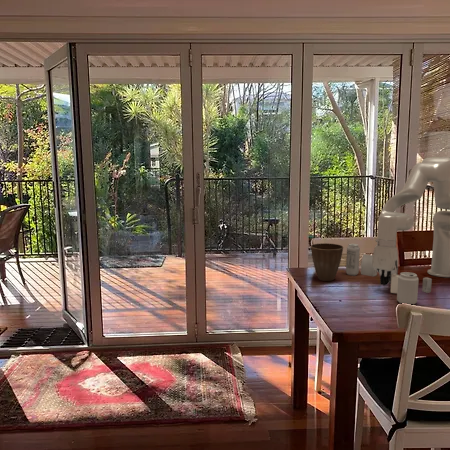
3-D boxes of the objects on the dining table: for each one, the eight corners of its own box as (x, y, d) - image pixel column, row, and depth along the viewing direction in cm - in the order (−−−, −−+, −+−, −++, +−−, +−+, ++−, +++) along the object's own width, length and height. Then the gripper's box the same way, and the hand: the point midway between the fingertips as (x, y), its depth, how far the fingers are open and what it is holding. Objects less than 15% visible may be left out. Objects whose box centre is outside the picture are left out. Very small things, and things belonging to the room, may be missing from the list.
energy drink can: (361, 274, 212) (362, 245, 210) (352, 276, 209) (353, 246, 207) (352, 272, 218) (353, 243, 215) (343, 273, 215) (344, 244, 212)
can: (418, 306, 168) (421, 276, 166) (398, 305, 170) (400, 275, 168) (414, 300, 175) (416, 271, 173) (395, 299, 177) (396, 270, 175)
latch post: (426, 290, 187) (427, 277, 186) (430, 292, 185) (431, 278, 184) (422, 291, 186) (423, 278, 185) (426, 292, 184) (427, 279, 183)
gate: (397, 282, 199) (398, 266, 198) (398, 293, 183) (399, 277, 182) (390, 281, 200) (391, 266, 199) (390, 292, 184) (391, 276, 183)
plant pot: (307, 281, 201) (308, 248, 198) (312, 273, 215) (313, 242, 212) (340, 284, 196) (342, 250, 194) (342, 276, 210) (344, 244, 208)
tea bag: (374, 276, 209) (375, 256, 208) (360, 274, 214) (361, 254, 212) (376, 275, 212) (377, 255, 210) (363, 272, 216) (364, 253, 215)
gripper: (366, 241, 188) (364, 281, 191) (397, 247, 176) (394, 290, 179) (376, 239, 192) (374, 279, 195) (407, 245, 180) (404, 287, 183)
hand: (384, 284), depth 187 cm, fingers closed
